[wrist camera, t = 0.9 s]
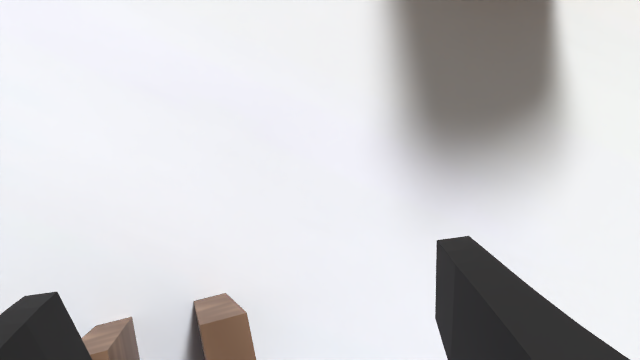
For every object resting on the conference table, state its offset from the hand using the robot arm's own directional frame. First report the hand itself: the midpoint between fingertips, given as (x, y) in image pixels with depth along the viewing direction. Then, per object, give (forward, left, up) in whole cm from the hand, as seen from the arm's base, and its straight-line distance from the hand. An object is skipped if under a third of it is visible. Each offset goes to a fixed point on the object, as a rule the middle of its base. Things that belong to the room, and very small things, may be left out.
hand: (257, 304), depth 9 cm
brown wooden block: (-4, 0, -15) cm, 16 cm away
